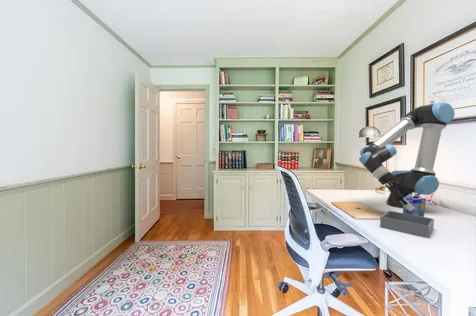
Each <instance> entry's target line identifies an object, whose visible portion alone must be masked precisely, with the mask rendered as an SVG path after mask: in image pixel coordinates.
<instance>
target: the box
mask: <svg viewBox="0 0 476 316" xmlns="http://www.w3.org/2000/svg"><path fill="white" fill-rule="evenodd" d="M379 223H380V224H379V225H380V226H379V227H380V228H383V229H388V230H391V231H395V232H396V231H397V232H401V233H405V234H409V235H414V236H418V237H423V238H426V237H427V239H429V238H430V236H431V235H432V233H433V231H434V224H435V219H434V218H431V217H426V216H424V217H421V216H415V215H410V214H404V213H403V212H397V211H392V210H388V211H386V212H385V213H384V214H382V215H381V216H380V222H379Z"/></svg>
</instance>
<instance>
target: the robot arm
mask: <svg viewBox="0 0 476 316" xmlns="http://www.w3.org/2000/svg"><path fill="white" fill-rule="evenodd" d="M454 118H455V109H454V108H453V106H452V105H451V104H450V103H448V102H445V101H444V102H436V103H432V104H425V105H420V106H417V107H415V108H414V109H412V110H410V111H409V112H407V113H406V114H405V115H404V116H402V117H401V118H400V119H399V122H397V123H396V124H395V125H394V126H392V127H391V128H390V129H388V130H387V131H386V132H385V133H384V134H382V135H381V136H380V137H378V138H377V139H376V140H375V141H373V142H372V143H371V144H370V145H368V146H365V147H362V148H361V149H360V151H359V154H360V157H359V159H358V161H359V162H360V163H361V164H362V166H363V167H365V169H366V170H367V171H368V172H369V173H370V174H371V175H372V177H373V178H374V177H375V179H377V180H378V182H379V183H380V184H381V185H384V186H385V187H386V188H387V189H388V190H389V195H388V197H387V200H386V204H387V205H388V206H391V207H396V208H400V209H401V208H402V209H403V205H404V206H405V207H406V208H407V209H408V210H409V211H411V210H413V209H415V208H414V207H413V206H412V205H411V204H410V203H409V202H408V201H407V200H406V199H405V198H404V197H412V196H413V193H414V194H420V195H422V196H423V195H424V196H430V195H433V194H434V193H435V192H436V191H438V188H439V185H440V181H439V179H438V178H437V177H436V172H435V171H434V168H435V167H434V166H435V162H436V158H437V154H438V149H439V144H440V140H441V135H442V130H444V129H445V128H446V127H447V124H448V123H450V122H452V121H453V120H454ZM419 126H420V127H422V132H421V137H420V141H419V147H418V150H417V151H418V152H417V154H416V155H417V156H416V160H415V165H414V167H413V168H411V169H410V170H408V169H407V170H406V169H405V170H391V172H390V171H389V169H388V168H387V167H386V166H385V165H384V164H383V163H385V162H386V161H388V160H390V159H392V158H393V157H395V155H396V154H397V152H398V151H397V148H396V147H395V146H394V145H393V143H395V142H396V141H397V140H398V139H400V138H401V137H402V136H403V135H405V134H406V133H407V132H408V131H410V130H414V129H416V128H417V127H419Z"/></svg>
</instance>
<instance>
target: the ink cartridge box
mask: <svg viewBox="0 0 476 316" xmlns="http://www.w3.org/2000/svg"><path fill="white" fill-rule="evenodd" d="M420 195H421V194H418V193H415V195H412V197H404V198H405V199H406V200H407V201H408V202H409V203H410V204H411V205H412V206H413V207H414V208H415V209H413V210H411V211H409V210H408V209H407V208H406V207H405V206H404V205H403V208H402V213H404V214H410V215H415V216H421V217H425V209H426V200H427V199H426V197H422V196H420Z"/></svg>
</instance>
